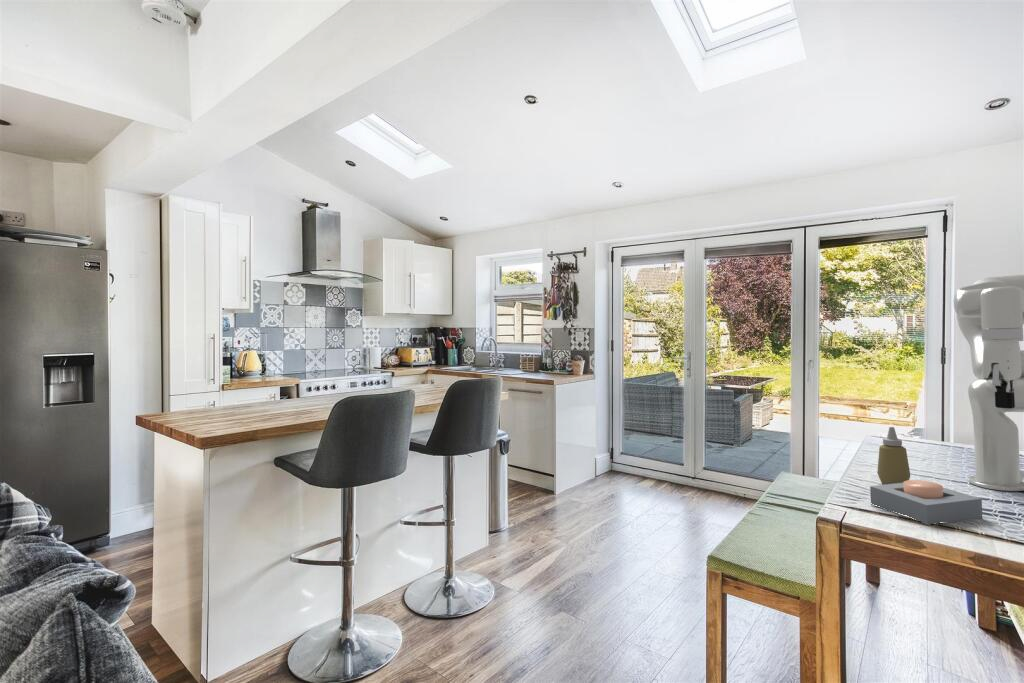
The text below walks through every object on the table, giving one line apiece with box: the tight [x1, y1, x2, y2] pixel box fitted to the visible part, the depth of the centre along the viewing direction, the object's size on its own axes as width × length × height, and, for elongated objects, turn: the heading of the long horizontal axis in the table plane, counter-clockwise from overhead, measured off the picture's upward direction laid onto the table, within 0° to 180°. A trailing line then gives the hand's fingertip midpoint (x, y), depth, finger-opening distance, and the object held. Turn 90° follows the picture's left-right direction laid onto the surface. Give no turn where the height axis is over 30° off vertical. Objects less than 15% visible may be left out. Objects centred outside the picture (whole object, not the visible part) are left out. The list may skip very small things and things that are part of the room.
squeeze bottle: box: [877, 426, 911, 485], centre depth 151 cm, size 8×8×18 cm
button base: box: [869, 483, 983, 526], centre depth 131 cm, size 16×16×5 cm
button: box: [903, 479, 944, 499], centre depth 131 cm, size 8×8×5 cm
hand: (1005, 407), depth 126 cm, fingers closed
